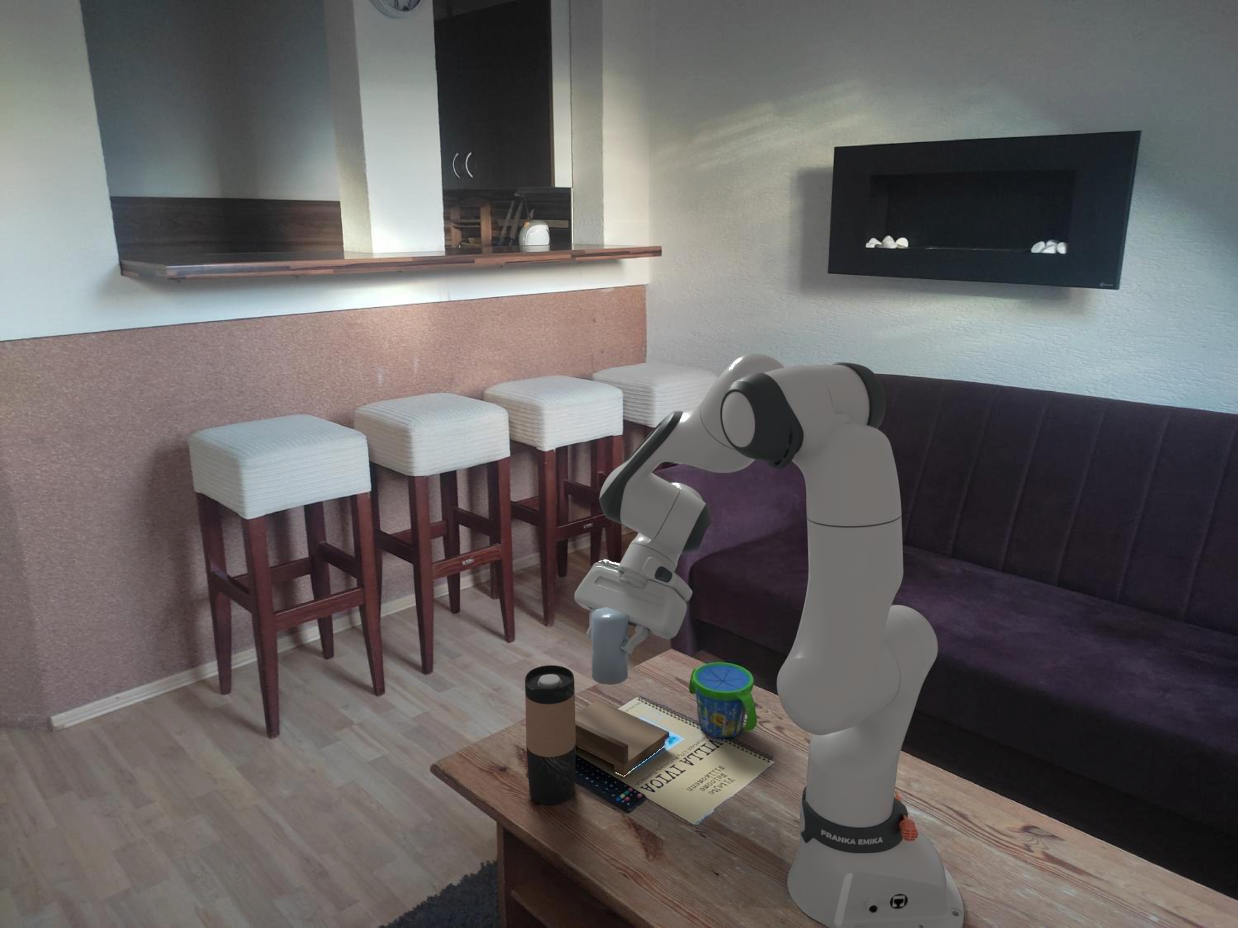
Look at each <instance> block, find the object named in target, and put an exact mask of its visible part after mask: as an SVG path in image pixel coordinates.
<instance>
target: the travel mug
mask: <svg viewBox="0 0 1238 928" xmlns="http://www.w3.org/2000/svg"><path fill="white" fill-rule="evenodd" d="M526 673H527V674H526V675H525V677H524V689H525V690H524V695H525V697H524V698H525V699H524V700H525V703H524V704H525V741H526V742H525V744H526V760H527V772H528V773H527V776H528V778H527V779H528V789H529V795H530V797H531V798H532V799H533V800H534V801H535V802H537V803H539V804H542V805H545V806H546V805H547V806H548V805H549V806H554V805H559V804H563V803H565V802H567V801H569V800H570V799H571V798H572V797H573V795H574V794H575V793H574V792H575V787H576V786H575V785H576V752H577V751H576V748H577V746H576V730H575V714H576V699H575V698H576V697H575V694H576V693H575V690H576V689H575V675H574V673H573V671H572V670H570V669H569V668H567V667H564V666H563V665H562V666H561V665H556V664H555V665H553V664H552V665H551V664H550V665H549V664H546V665H541V666H538V667H534V668H533V669H531V670H529V671H528V672H526Z"/></svg>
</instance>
